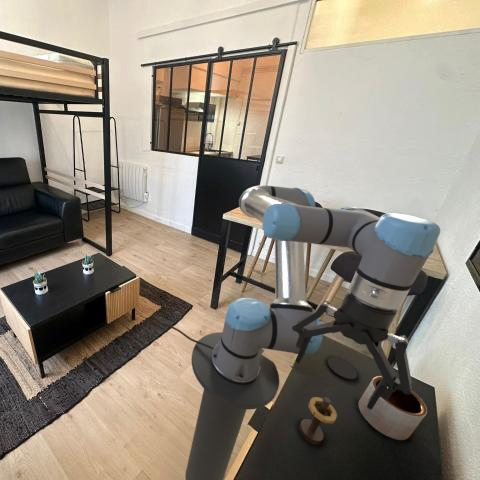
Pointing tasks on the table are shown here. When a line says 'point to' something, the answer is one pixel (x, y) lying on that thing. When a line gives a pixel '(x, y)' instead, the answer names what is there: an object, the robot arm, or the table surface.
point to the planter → (393, 412)
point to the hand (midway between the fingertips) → (331, 380)
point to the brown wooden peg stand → (315, 424)
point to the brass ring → (318, 415)
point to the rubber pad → (342, 368)
